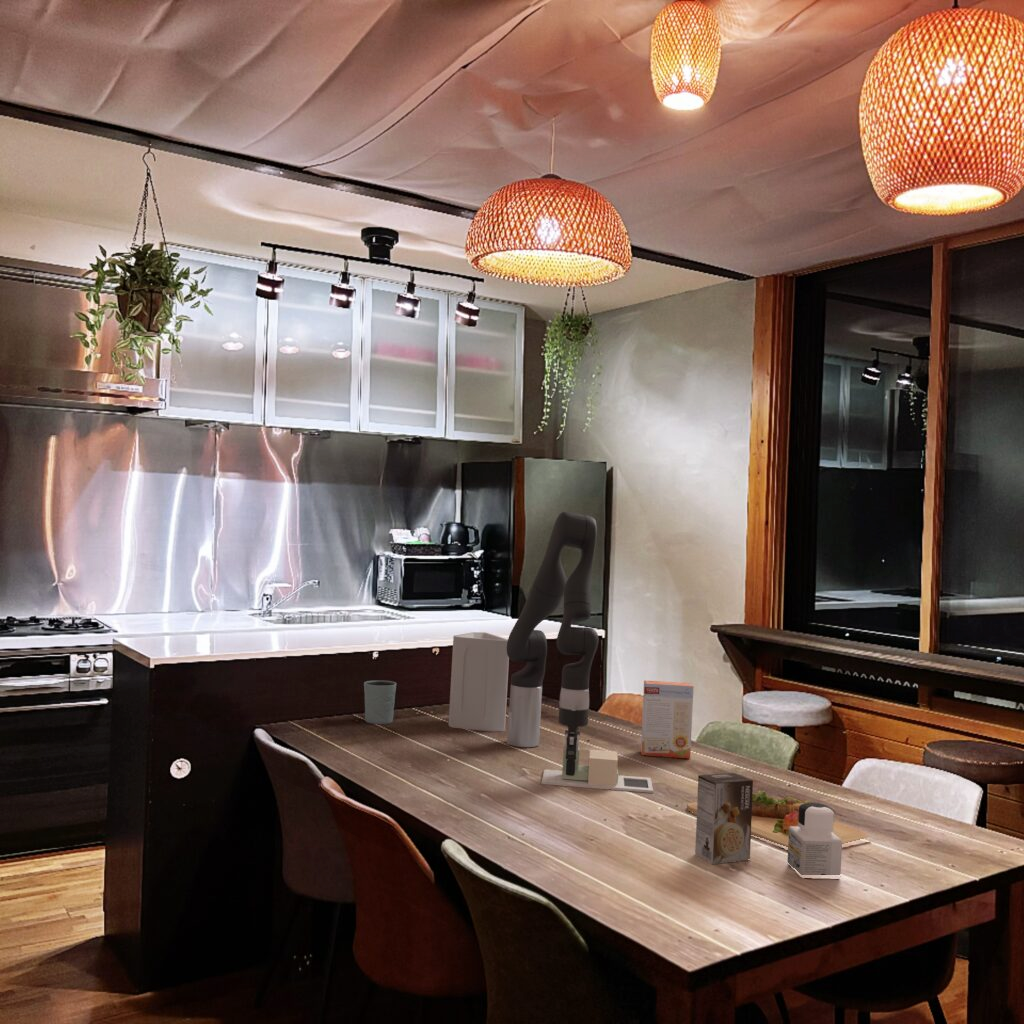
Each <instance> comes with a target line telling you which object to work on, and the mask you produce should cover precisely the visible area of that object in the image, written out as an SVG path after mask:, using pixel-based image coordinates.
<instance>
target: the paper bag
mask: <svg viewBox="0 0 1024 1024" xmlns="http://www.w3.org/2000/svg"><path fill="white" fill-rule="evenodd" d="M452 637H453V638H452V639H453V641H452V657H451V659H452V660H451V671H450V672H451V676H450V691H449V694H450V695H449V710H448V711H449V712H448V726H449V727H450V728H455V729H463V730H473V731H482V732H483V731H484V732H491V733H492V732H505V731H506V719H507V717H506V716H507V702H508V701H507V698H508V683H509V682H508V681H509V667H510V666H509V665H510V663H509V662H510V661H509V660H510V659H509V657H508V655H507V642H508V638H504V637H502V636H498V635H495V634H492V633H489V632H485V631H483V632H481V631H480V632H477V631H476V632H474V631H472V632H466V633H462V634H460V633H459V634H456V635H453V636H452Z"/></svg>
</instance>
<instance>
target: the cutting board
mask: <svg viewBox="0 0 1024 1024" xmlns="http://www.w3.org/2000/svg"><path fill="white" fill-rule="evenodd" d="M805 803H813V802H812V801H811V800H809V799H808V800H798V799H796V798H793V797H791V796H785V797H784V798H780V799H777V798H775V797H768V795H767V792H766V791H765V790H762V791H761V790H758V791H757V792H756V793H753V794H752V820H751V835H754V836H757V837H760V838H764V839H766V840H769V841H771V842H774V843H777V844H780V845H783V846H786V847H788V842H789V827H790V826H798V818H799V806H800V805H802V804H805ZM686 804H687V805H686V809H687V810H689V811H690V813H691V812H693V813H692V814H694V813H696V814H697V801H695V802H689V803H686ZM689 811H688V812H689ZM696 814H695V815H696ZM798 827H799V826H798ZM832 833H834V834H835V835H836V836H837V837H839V838H840V839H841V840H842V844H844V843H848V842H852V841H856V840H860V839H864V838H867V837H871V836H870V835H869V834H867V833H866V832H865V831H861V830H859V829H856V828H853V827H850V826H847V825H844V824H841V823H839V822H836V821H834V827H833V832H832Z"/></svg>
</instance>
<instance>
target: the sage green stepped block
mask: <svg viewBox="0 0 1024 1024" xmlns="http://www.w3.org/2000/svg"><path fill="white" fill-rule="evenodd" d="M580 748H581V746H579V747H578V752H576V761H575V774H574V776H569V775H566V758H565V756H566V751H565V745H563V755H562V770H561V771H562V779H572V780H585V781H588V776H589V765H580V750H581V749H580ZM568 754H569V755H574V752H573V751H569V752H568ZM618 775H619V768H618V767H617V783H618Z"/></svg>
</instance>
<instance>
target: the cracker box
mask: <svg viewBox="0 0 1024 1024" xmlns="http://www.w3.org/2000/svg"><path fill="white" fill-rule="evenodd" d="M642 695H643V696H642V697H643V699H642V713H641V714H642V715H641V716H642V718H641V739H640V741H641V742H640V753H641V756H644V755H646V756H647V757H660V756H662V758H663V757H664V758H673V757H674V758H677V759H685V758H686V759H687V760H688V759H691V751H692V750H691V748H692V728H693V709H694V708H693V705H694V704H693V702H694V685H693V684H692V683H690V682H677V681H676V682H674V681H664V680H662V681H661V680H643V693H642Z"/></svg>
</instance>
